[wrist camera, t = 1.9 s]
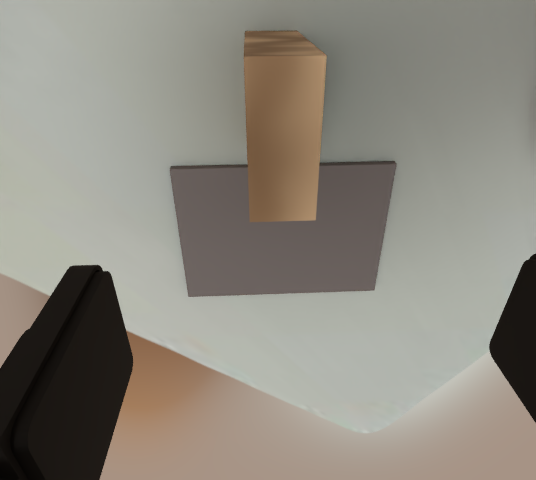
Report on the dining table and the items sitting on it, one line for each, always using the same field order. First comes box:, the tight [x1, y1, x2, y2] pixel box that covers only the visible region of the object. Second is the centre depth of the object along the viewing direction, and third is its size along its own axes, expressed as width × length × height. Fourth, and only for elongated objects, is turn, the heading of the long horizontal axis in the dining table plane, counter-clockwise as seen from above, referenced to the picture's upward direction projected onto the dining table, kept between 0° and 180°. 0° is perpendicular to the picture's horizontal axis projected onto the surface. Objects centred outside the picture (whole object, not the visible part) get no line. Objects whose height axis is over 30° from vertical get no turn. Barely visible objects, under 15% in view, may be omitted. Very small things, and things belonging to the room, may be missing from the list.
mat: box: [170, 161, 396, 297], centre depth 35 cm, size 18×13×1 cm
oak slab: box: [244, 31, 327, 222], centre depth 24 cm, size 4×8×12 cm, turn 0°
